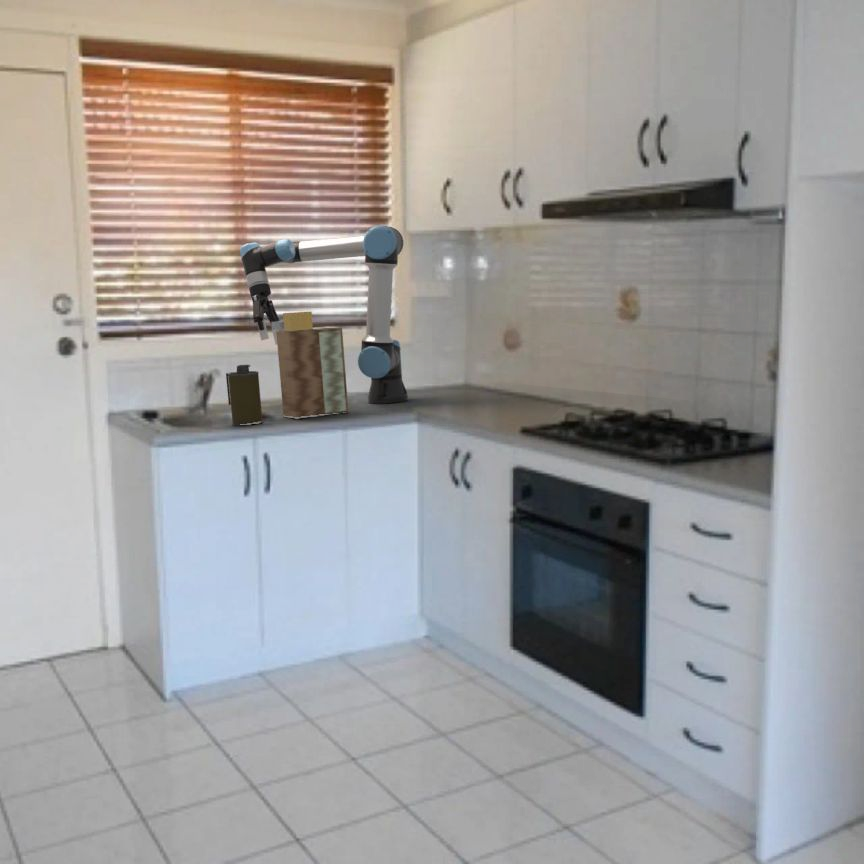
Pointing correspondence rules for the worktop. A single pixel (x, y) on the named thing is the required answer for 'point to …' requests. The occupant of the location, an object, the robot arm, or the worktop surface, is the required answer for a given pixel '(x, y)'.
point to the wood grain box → (312, 371)
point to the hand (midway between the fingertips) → (272, 341)
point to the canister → (244, 395)
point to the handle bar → (294, 322)
